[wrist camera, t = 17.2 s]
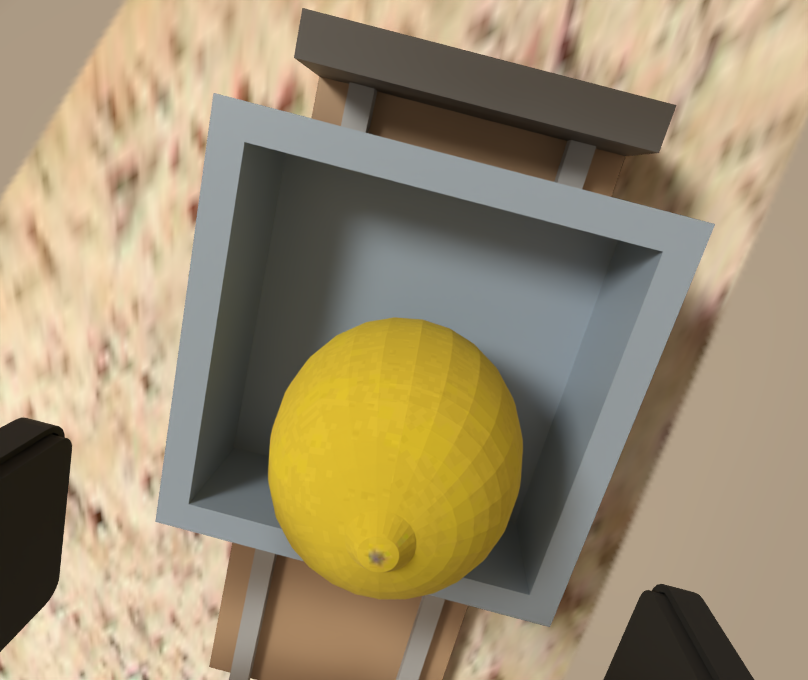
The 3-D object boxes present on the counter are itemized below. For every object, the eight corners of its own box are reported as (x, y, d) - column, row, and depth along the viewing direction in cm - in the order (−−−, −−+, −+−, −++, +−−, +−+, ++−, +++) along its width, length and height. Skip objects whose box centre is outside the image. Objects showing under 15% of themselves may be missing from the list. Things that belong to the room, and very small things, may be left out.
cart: (522, 500, 21) (549, 627, 15) (237, 425, 21) (155, 521, 15) (628, 207, 17) (715, 223, 12) (291, 119, 18) (213, 93, 12)
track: (427, 705, 26) (422, 796, 22) (218, 648, 26) (177, 730, 22) (629, 119, 18) (676, 105, 15) (333, 42, 18) (302, 8, 15)
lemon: (283, 335, 17) (143, 475, 9) (457, 256, 15) (469, 338, 8) (366, 488, 18) (307, 728, 10) (532, 425, 17) (605, 637, 9)
